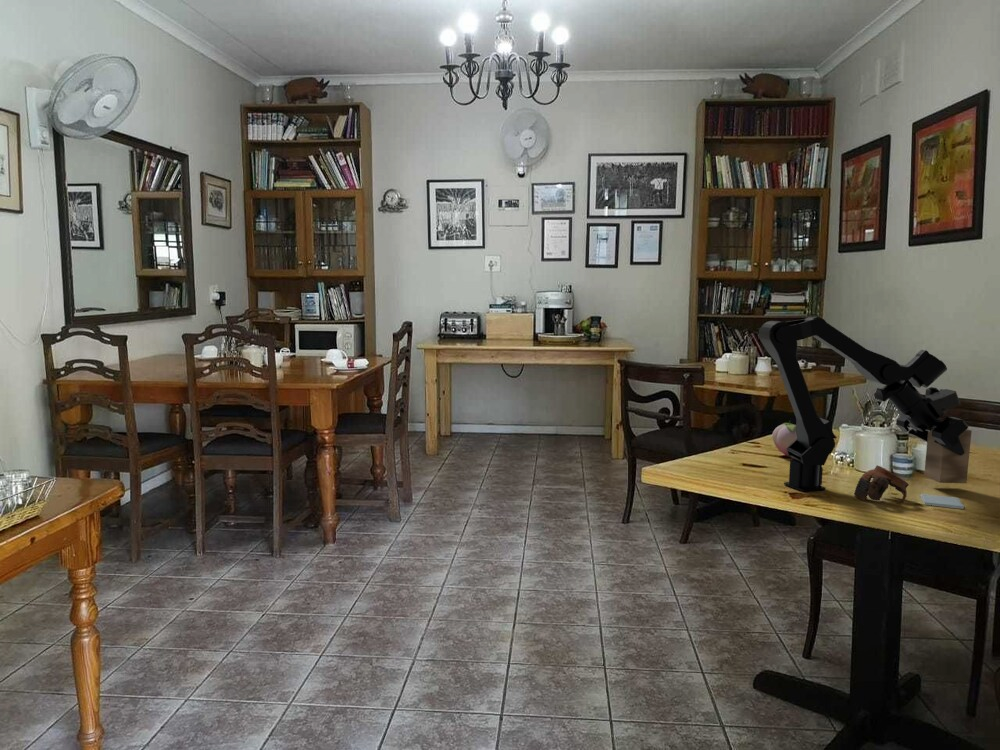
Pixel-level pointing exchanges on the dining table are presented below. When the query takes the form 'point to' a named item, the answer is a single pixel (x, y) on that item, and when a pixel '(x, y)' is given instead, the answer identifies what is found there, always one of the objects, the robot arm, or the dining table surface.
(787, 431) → the decorative fruit
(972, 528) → the dining table surface
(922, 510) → the dining table surface
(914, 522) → the dining table surface
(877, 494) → the brown curved piece
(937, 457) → the walnut block
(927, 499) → the slate-blue tile
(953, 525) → the dining table surface
